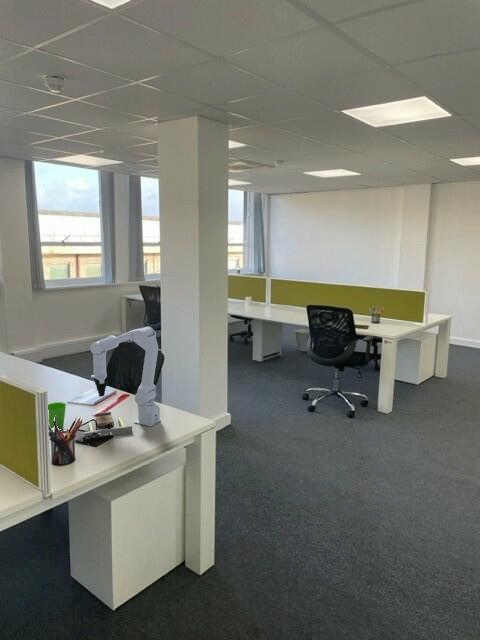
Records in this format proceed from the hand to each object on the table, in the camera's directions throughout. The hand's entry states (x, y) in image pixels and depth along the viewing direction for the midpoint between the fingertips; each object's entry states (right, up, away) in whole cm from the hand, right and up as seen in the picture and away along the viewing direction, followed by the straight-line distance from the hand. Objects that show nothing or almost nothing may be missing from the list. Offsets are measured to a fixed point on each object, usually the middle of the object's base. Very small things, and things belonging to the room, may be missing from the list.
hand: (100, 393), depth 225 cm
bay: (+7, -14, -15) cm, 22 cm away
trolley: (+4, -13, -9) cm, 16 cm away
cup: (-15, -14, -15) cm, 25 cm away
